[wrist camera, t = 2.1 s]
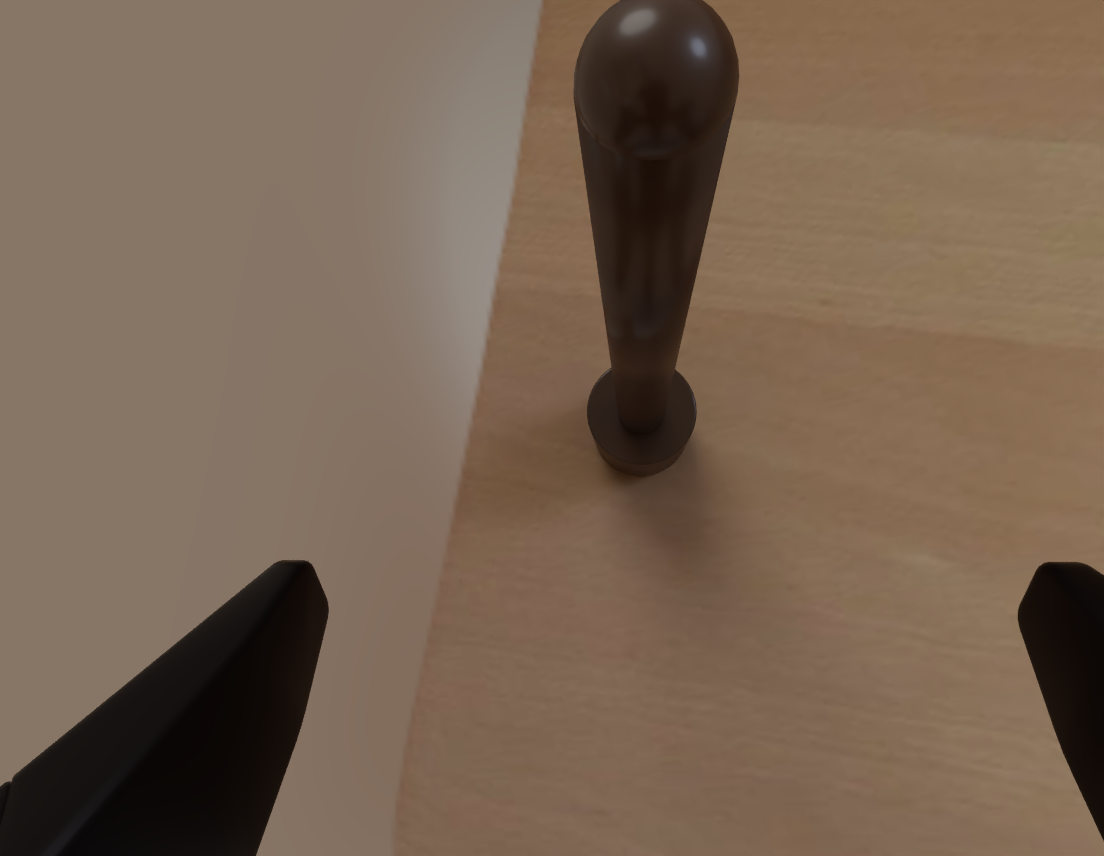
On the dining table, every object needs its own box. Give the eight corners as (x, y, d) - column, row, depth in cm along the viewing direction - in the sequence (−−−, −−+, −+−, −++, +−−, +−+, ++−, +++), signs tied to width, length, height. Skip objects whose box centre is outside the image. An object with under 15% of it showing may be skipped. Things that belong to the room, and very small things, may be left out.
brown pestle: (693, 470, 20) (924, 190, 4) (599, 480, 20) (461, 254, 4) (681, 379, 20) (843, -199, 4) (589, 389, 21) (434, -115, 5)
